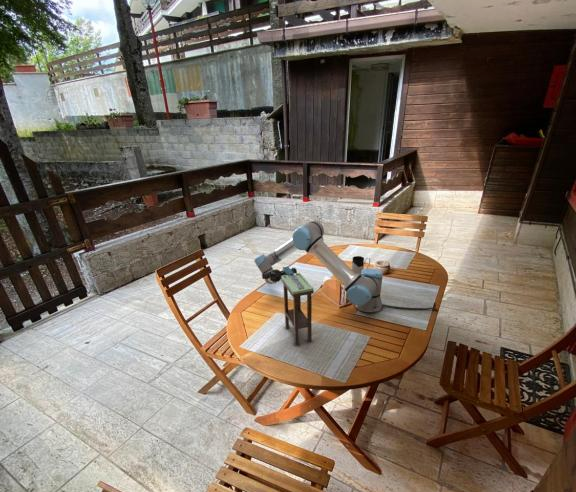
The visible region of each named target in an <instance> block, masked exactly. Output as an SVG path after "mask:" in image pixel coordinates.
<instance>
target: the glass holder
mask: <svg viewBox="0 0 576 492" xmlns="http://www.w3.org/2000/svg"><path fill="white" fill-rule="evenodd" d="M368 259H369V262H368V264H367V266H366V268H365V267H364V265H366V261H367V260H368ZM351 260H352V261H351V270H352V271H353V272H354V273H356V274H361V272H362V270H363V269H367V268H370V267H369V266H370V264H371V258H370V257H366V258H364V256H361V255H355V256H352V259H351Z"/></svg>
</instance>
